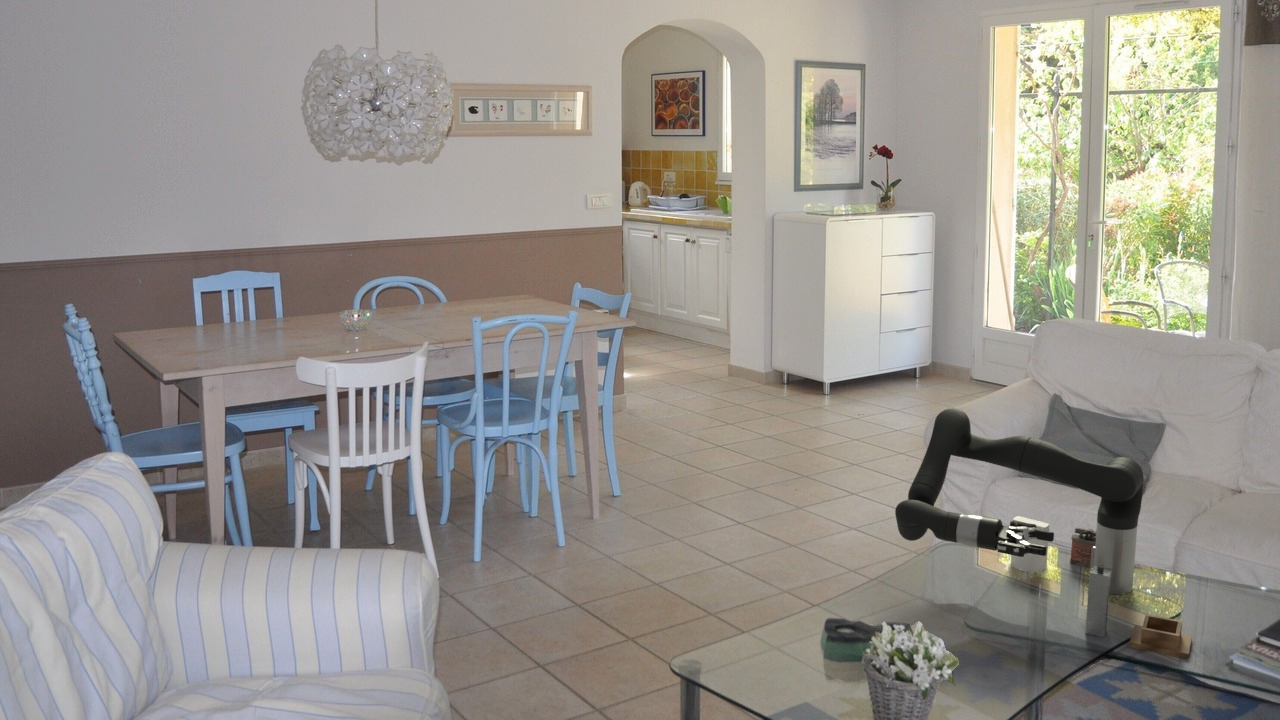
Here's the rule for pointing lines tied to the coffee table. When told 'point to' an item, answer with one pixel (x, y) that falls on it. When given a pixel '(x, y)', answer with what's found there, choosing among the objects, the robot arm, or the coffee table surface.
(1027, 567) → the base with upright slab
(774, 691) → the coffee table surface
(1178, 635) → the brown open box stand
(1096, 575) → the tall gray rectangular post
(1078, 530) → the lighter
